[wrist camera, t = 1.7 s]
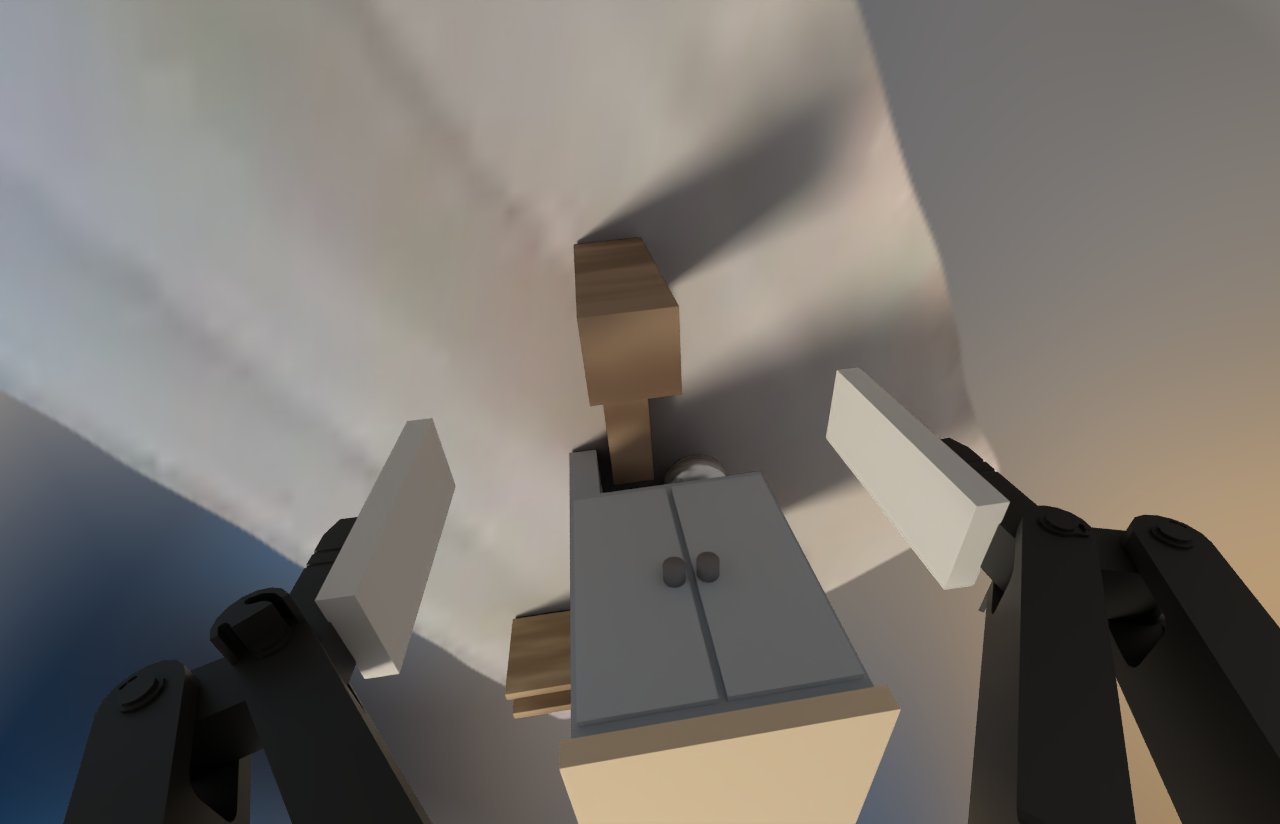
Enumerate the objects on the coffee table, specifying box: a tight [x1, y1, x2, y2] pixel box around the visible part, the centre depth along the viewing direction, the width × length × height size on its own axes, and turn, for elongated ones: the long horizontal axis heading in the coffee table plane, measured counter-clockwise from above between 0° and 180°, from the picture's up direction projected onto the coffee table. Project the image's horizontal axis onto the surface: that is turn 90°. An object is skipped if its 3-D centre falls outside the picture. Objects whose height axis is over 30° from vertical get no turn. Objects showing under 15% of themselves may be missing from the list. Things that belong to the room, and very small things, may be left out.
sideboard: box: [559, 450, 901, 824], centre depth 31 cm, size 13×14×21 cm
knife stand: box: [505, 611, 571, 718], centre depth 45 cm, size 4×20×7 cm, turn 94°
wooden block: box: [574, 237, 682, 485], centre depth 29 cm, size 17×4×12 cm, turn 4°
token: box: [664, 455, 726, 485], centre depth 40 cm, size 5×5×2 cm
